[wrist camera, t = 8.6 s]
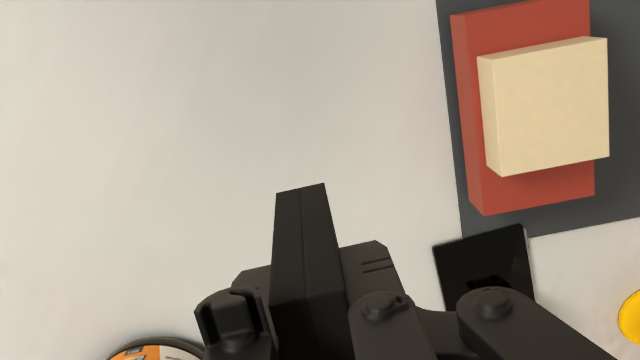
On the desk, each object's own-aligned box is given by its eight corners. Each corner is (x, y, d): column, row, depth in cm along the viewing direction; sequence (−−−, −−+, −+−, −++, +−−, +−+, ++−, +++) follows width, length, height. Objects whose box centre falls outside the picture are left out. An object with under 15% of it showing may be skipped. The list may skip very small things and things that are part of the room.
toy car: (479, 15, 29) (614, -11, 29) (444, 14, 36) (554, -7, 36) (498, 231, 33) (617, 209, 33) (463, 195, 40) (563, 176, 40)
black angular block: (430, 245, 41) (448, 273, 37) (523, 220, 41) (552, 245, 37) (459, 376, 45) (478, 416, 41) (545, 353, 45) (573, 391, 40)
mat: (433, -24, 36) (433, -24, 35) (672, -70, 35) (674, -71, 35) (463, 249, 42) (464, 250, 41) (668, 210, 42) (669, 210, 41)
